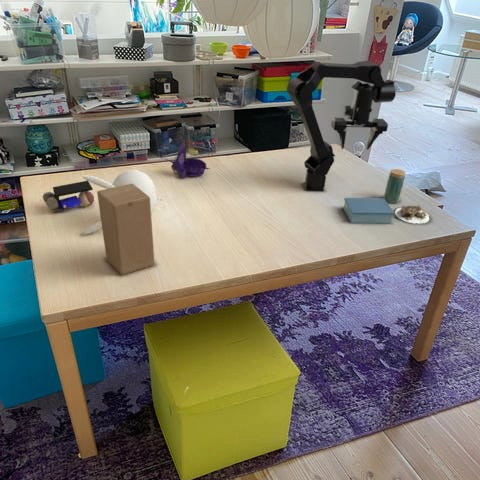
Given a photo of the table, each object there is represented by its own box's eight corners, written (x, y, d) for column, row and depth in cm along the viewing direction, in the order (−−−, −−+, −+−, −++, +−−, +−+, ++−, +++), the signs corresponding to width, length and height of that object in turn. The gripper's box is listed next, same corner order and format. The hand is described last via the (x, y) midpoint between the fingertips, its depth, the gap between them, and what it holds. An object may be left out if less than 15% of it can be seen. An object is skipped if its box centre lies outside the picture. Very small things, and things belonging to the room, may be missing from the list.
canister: (392, 204, 174) (399, 176, 168) (380, 199, 177) (386, 170, 171) (401, 201, 177) (409, 172, 170) (389, 195, 180) (396, 167, 174)
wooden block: (155, 265, 136) (150, 196, 124) (121, 276, 131) (112, 205, 119) (138, 249, 142) (132, 182, 130) (105, 259, 137) (96, 190, 125)
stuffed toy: (155, 161, 153) (73, 162, 140) (174, 180, 144) (88, 184, 132) (150, 216, 164) (73, 222, 152) (166, 237, 156) (86, 245, 143)
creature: (161, 172, 187) (159, 139, 180) (207, 168, 192) (207, 136, 185) (166, 181, 181) (164, 147, 173) (213, 177, 186) (214, 144, 178)
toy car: (51, 220, 156) (98, 207, 161) (44, 198, 151) (92, 185, 156) (47, 211, 161) (92, 199, 166) (39, 189, 156) (86, 177, 161)
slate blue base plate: (350, 223, 161) (352, 212, 159) (342, 208, 170) (344, 197, 168) (391, 223, 163) (394, 212, 160) (381, 208, 171) (384, 198, 169)
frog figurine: (410, 226, 161) (413, 215, 159) (386, 211, 170) (389, 200, 167) (437, 221, 166) (440, 210, 163) (413, 206, 174) (415, 195, 172)
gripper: (383, 97, 176) (373, 142, 186) (331, 96, 175) (324, 141, 184) (392, 106, 168) (382, 152, 177) (338, 105, 166) (331, 151, 176)
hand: (354, 149), depth 179 cm, fingers open, 9 cm apart
